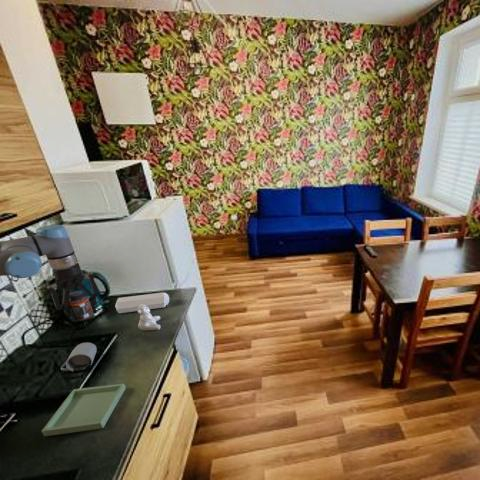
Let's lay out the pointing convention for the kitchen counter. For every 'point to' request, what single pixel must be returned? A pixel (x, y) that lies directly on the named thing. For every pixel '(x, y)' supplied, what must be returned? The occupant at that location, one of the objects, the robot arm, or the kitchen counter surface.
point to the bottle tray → (85, 410)
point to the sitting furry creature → (147, 319)
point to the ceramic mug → (80, 356)
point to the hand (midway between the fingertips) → (84, 316)
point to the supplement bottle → (81, 306)
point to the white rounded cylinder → (142, 302)
